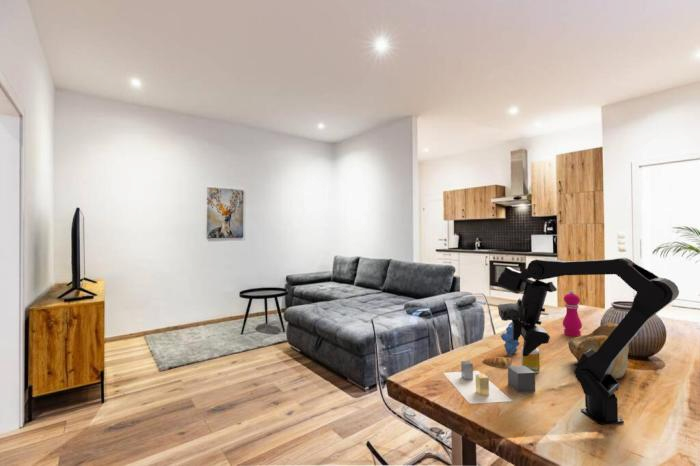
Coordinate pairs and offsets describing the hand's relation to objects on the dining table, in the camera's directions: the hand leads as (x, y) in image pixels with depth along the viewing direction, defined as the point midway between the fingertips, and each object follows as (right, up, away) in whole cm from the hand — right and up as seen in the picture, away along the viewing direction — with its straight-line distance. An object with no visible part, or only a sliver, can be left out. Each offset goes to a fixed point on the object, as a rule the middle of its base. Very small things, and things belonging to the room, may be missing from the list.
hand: (519, 347), depth 102 cm
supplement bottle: (+10, -12, +12) cm, 20 cm away
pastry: (+1, -13, +15) cm, 20 cm away
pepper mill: (+49, -11, +50) cm, 71 cm away
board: (-14, -12, -1) cm, 19 cm away
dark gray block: (-1, -12, -3) cm, 12 cm away
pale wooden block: (-14, -11, -6) cm, 18 cm away
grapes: (+11, -12, +29) cm, 33 cm away
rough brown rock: (+33, -12, +13) cm, 38 cm away
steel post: (-14, -11, +4) cm, 19 cm away
